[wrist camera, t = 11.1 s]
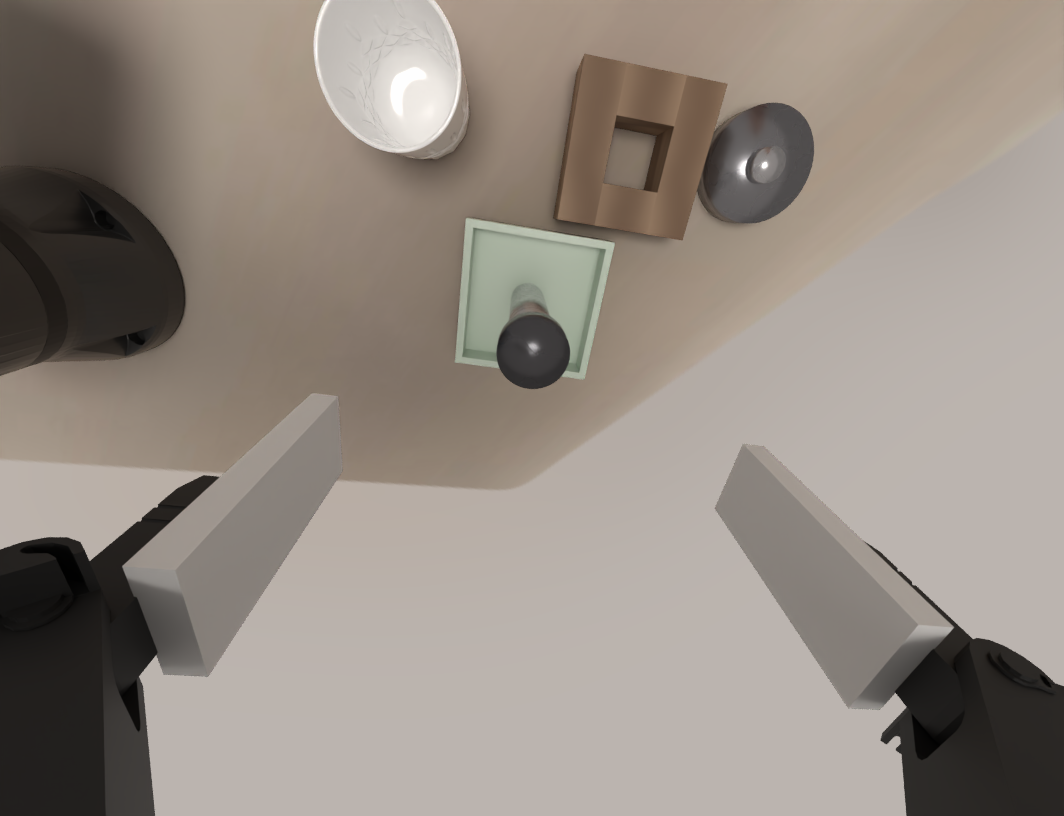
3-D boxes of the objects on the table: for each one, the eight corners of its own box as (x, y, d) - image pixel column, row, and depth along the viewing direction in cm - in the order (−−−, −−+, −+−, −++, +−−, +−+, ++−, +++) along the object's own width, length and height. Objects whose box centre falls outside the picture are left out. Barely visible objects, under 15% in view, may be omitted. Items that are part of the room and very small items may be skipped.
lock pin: (502, 319, 38) (492, 383, 23) (508, 274, 36) (501, 312, 21) (545, 325, 38) (562, 392, 23) (552, 281, 36) (576, 323, 21)
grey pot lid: (683, 214, 35) (700, 214, 32) (715, 100, 32) (738, 88, 28) (771, 229, 36) (796, 231, 32) (811, 120, 32) (844, 110, 29)
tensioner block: (553, 218, 35) (557, 219, 31) (576, 72, 30) (584, 53, 27) (665, 237, 36) (682, 240, 32) (703, 98, 31) (727, 83, 28)
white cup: (464, 182, 33) (444, 172, 24) (366, 148, 32) (307, 124, 23) (488, 66, 30) (476, 5, 21) (380, 23, 29) (319, -60, 20)
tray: (459, 351, 40) (455, 362, 37) (470, 217, 35) (465, 217, 32) (579, 368, 41) (584, 379, 38) (607, 240, 36) (614, 242, 33)
